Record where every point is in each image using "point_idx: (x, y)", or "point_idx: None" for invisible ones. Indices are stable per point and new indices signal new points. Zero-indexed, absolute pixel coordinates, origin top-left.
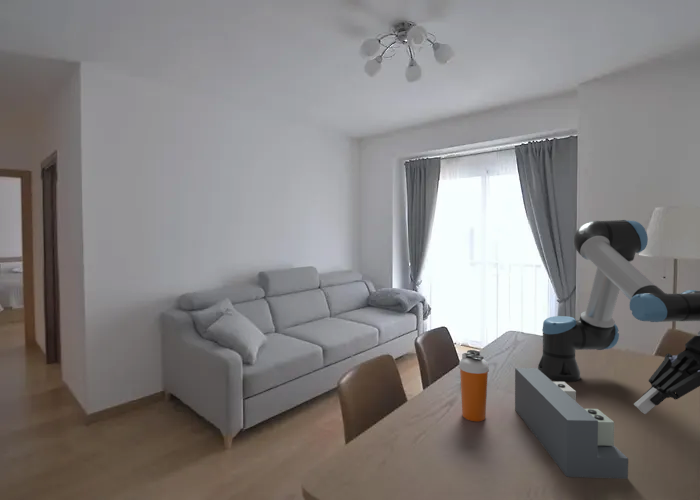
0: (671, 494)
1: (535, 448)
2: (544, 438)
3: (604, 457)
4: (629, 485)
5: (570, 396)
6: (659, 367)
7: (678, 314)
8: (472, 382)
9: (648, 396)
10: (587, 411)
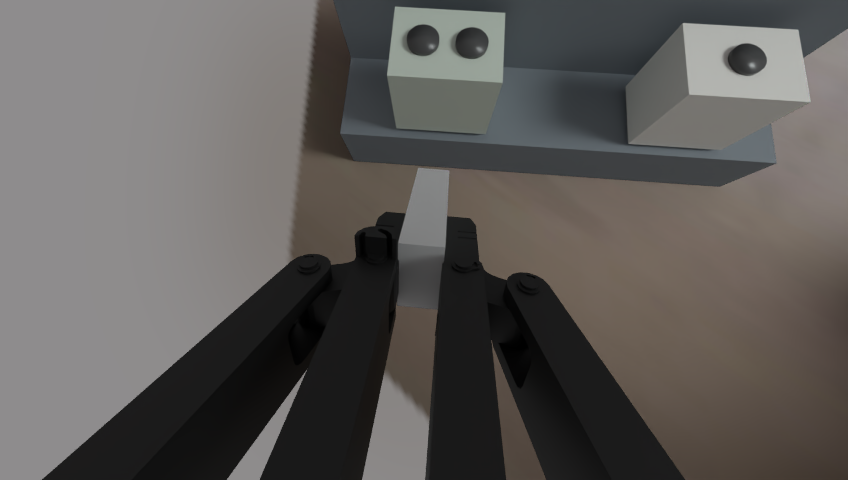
0: (292, 219)
1: None
2: None
3: (349, 75)
4: (331, 148)
5: (667, 88)
6: (651, 457)
7: None
8: None
9: (414, 205)
10: (479, 32)
